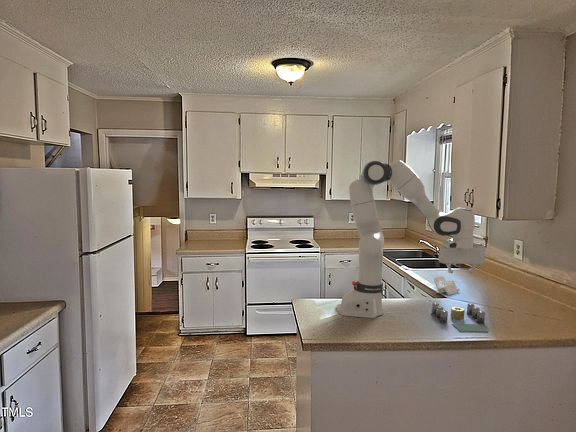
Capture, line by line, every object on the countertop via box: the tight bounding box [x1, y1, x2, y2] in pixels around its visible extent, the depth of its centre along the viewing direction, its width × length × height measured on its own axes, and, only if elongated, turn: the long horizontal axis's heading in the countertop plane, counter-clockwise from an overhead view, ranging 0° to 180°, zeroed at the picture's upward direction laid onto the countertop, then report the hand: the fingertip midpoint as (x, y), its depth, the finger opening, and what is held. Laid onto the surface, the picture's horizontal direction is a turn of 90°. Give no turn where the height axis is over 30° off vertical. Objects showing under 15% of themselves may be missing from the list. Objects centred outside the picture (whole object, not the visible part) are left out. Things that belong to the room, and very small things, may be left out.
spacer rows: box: [431, 302, 486, 325], centre depth 183 cm, size 20×13×5 cm, turn 91°
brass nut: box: [450, 306, 466, 321], centre depth 183 cm, size 5×6×5 cm
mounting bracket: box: [433, 275, 460, 296], centre depth 223 cm, size 12×6×11 cm, turn 128°
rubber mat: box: [451, 323, 489, 333], centre depth 171 cm, size 12×8×1 cm, turn 91°
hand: (460, 273), depth 181 cm, fingers open, 8 cm apart
